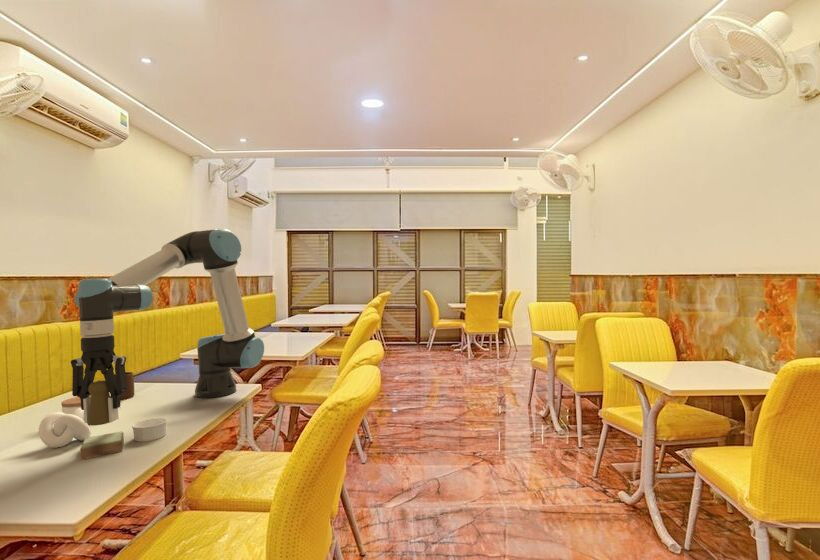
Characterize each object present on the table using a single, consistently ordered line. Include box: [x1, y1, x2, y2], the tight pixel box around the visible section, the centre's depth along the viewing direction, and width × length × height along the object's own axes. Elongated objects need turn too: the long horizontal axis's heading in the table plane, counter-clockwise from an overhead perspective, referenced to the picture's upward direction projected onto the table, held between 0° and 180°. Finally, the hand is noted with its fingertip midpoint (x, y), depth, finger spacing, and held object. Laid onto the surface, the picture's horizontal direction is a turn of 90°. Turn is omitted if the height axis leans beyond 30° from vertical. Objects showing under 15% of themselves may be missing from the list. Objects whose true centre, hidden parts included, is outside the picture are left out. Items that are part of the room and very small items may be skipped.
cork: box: [88, 380, 111, 427], centre depth 123 cm, size 6×6×11 cm
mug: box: [115, 371, 135, 401], centre depth 179 cm, size 12×8×9 cm, turn 29°
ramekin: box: [131, 417, 168, 443], centre depth 132 cm, size 9×9×4 cm
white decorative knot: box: [38, 408, 92, 449], centre depth 130 cm, size 11×12×9 cm
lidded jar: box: [61, 395, 91, 424], centre depth 149 cm, size 11×11×9 cm
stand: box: [80, 430, 125, 460], centre depth 123 cm, size 9×9×3 cm
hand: (101, 420), depth 123 cm, fingers closed on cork, 6 cm apart
